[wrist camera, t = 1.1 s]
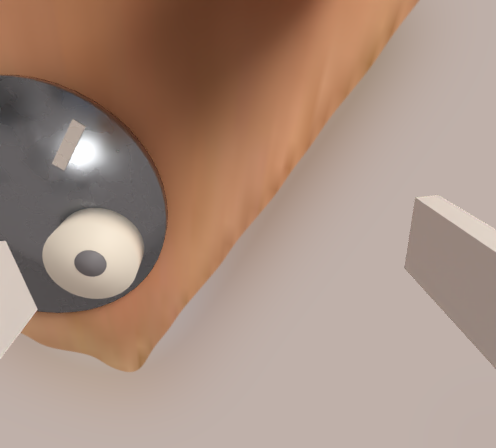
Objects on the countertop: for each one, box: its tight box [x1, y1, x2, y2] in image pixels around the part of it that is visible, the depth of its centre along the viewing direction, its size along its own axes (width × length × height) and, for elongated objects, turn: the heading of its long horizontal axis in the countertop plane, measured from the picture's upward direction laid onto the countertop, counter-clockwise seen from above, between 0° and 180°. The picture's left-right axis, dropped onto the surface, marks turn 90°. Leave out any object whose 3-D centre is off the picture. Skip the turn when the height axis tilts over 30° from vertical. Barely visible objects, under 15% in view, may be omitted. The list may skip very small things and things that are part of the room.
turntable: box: [0, 75, 168, 313], centre depth 32 cm, size 26×26×7 cm
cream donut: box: [42, 208, 144, 299], centre depth 34 cm, size 9×9×4 cm
